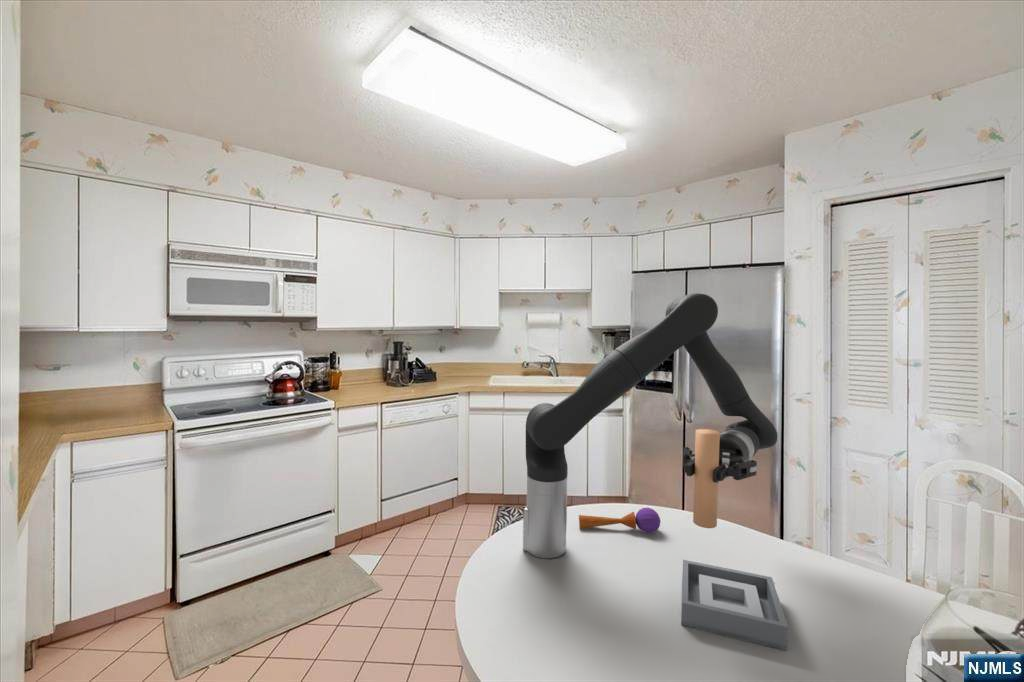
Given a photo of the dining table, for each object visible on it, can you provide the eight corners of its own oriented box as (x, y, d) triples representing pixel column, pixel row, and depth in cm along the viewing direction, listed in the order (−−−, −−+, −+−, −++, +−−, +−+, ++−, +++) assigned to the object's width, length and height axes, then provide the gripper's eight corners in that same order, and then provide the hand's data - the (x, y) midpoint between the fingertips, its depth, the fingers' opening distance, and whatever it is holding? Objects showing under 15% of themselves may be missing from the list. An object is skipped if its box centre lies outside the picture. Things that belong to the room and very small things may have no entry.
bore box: (681, 624, 79) (681, 602, 78) (682, 578, 93) (682, 559, 92) (786, 650, 73) (787, 627, 73) (770, 597, 87) (771, 577, 86)
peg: (693, 526, 81) (695, 433, 80) (692, 516, 85) (695, 428, 84) (717, 529, 80) (720, 435, 79) (716, 520, 84) (719, 430, 83)
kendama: (578, 506, 118) (656, 504, 116) (579, 530, 117) (658, 529, 115) (579, 512, 112) (661, 510, 110) (580, 537, 111) (663, 536, 109)
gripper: (695, 427, 97) (662, 445, 84) (769, 439, 88) (746, 462, 75) (694, 461, 97) (661, 484, 85) (768, 477, 88) (744, 505, 75)
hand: (701, 473), depth 80 cm, fingers closed on peg, 4 cm apart
